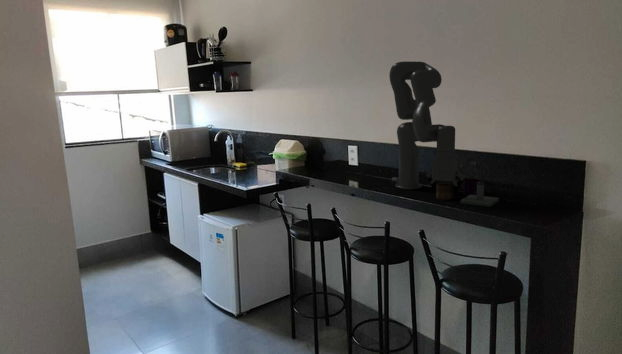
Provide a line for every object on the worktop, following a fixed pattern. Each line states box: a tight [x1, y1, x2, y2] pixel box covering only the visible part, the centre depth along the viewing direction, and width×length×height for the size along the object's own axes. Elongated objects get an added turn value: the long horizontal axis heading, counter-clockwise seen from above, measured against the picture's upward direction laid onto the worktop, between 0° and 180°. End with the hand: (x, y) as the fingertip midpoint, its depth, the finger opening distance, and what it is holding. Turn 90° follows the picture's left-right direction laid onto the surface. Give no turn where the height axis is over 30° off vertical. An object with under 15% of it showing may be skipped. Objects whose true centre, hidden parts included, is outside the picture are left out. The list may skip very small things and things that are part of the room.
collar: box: [435, 182, 454, 201], centre depth 192 cm, size 7×7×6 cm
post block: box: [459, 181, 500, 208], centre depth 183 cm, size 12×12×8 cm
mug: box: [459, 178, 481, 197], centre depth 197 cm, size 7×10×7 cm
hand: (444, 193), depth 192 cm, fingers open, 9 cm apart
